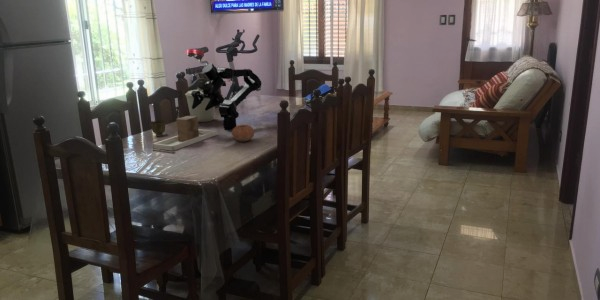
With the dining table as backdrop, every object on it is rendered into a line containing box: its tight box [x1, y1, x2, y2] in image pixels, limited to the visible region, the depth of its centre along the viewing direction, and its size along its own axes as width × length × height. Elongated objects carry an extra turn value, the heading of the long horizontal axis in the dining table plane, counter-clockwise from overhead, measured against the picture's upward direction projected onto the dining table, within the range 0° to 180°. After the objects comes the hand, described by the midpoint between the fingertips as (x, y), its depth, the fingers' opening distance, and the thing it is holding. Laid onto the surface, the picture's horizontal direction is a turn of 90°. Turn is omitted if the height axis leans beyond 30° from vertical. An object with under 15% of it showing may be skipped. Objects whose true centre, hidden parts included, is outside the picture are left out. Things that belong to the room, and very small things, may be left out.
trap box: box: [151, 128, 218, 154], centre depth 227 cm, size 32×12×4 cm, turn 152°
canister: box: [184, 86, 216, 123], centre depth 279 cm, size 18×18×21 cm
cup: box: [149, 119, 166, 138], centre depth 244 cm, size 8×7×8 cm
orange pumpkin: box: [231, 124, 255, 143], centre depth 230 cm, size 11×11×8 cm
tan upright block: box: [176, 115, 200, 142], centre depth 228 cm, size 8×6×11 cm
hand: (198, 109), depth 238 cm, fingers open, 9 cm apart
